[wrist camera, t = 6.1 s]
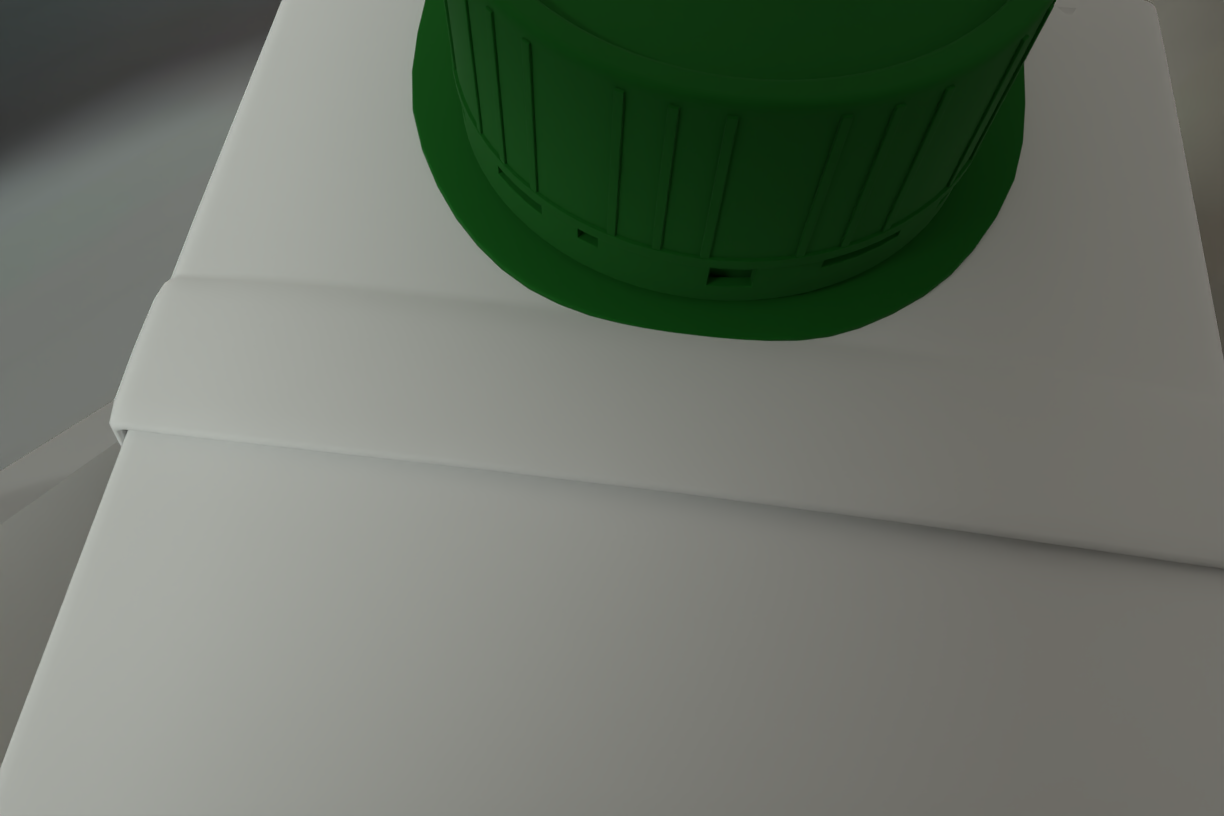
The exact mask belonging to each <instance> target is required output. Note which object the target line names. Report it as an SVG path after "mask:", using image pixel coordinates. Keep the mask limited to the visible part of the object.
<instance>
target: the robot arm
mask: <svg viewBox="0 0 1224 816" xmlns="http://www.w3.org/2000/svg"><path fill="white" fill-rule="evenodd" d="M113 403H114V400H113V401H111V402H110V403H108V404H107V405H105V406H103V407H102V408H100V409H99V410H97V411H95V412H94V413H92V414H91V415H89V416H87V417H86V418H84V419H83V420H81V421H79V422H78V423H76V424H75V425H73V426H71V427H70V428H68V429H67V430H65V431H63V432H62V433H60V434H59V435H57V436H55V437H54V438H52V439H51V440H49V441H47V442H46V443H44V444H43V445H41V446H39V447H38V448H36V449H35V450H33V451H31V452H30V453H28V454H27V455H25V456H23V457H22V458H20V459H19V460H17V461H15V462H14V463H12V464H11V465H9V466H7V467H6V468H4V469H3V470H1V471H0V768H1V765H2V762H3V760H4V757H5V754H6V752H7V749H8V746H9V744H10V741H11V738H12V736H13V733H14V730H15V728H16V725H17V722H18V720H19V717H20V714H21V712H22V709H23V706H24V704H25V701H26V699H27V696H28V693H29V691H30V688H31V685H32V683H33V680H34V677H35V675H36V672H37V669H38V667H39V664H40V662H41V659H42V656H43V654H44V651H45V648H46V646H47V643H48V640H49V638H50V635H51V632H52V630H53V627H54V624H55V622H56V619H57V617H58V614H59V611H60V609H61V606H62V603H63V601H64V598H65V595H66V593H67V590H68V587H69V585H70V582H71V579H72V577H73V574H74V571H75V569H76V566H77V564H78V561H79V558H80V556H81V553H82V550H83V548H84V545H85V542H86V540H87V537H88V534H89V532H90V529H91V526H92V524H93V521H94V518H95V516H96V513H97V511H98V508H99V505H100V503H101V500H102V497H103V495H104V492H105V489H106V487H107V484H108V481H109V479H110V476H111V474H112V471H113V468H114V466H115V463H116V460H117V458H118V455H119V452H120V450H121V446H120V444H119V442H118V440H117V438H116V436H115V434H114V432H113V430H112V428H111V426H110V424H109V421H110V417H111V412H112V408H113Z"/></svg>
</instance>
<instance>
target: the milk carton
mask: <svg viewBox="0 0 1224 816" xmlns="http://www.w3.org/2000/svg"><path fill="white" fill-rule="evenodd" d="M109 424H110V426H111V428H112V430H113V432H114V434H115V436H116V438H117V440H118V442H119V444H120V446H121V450H120V452H119V455H118V458H117V460H116V463H115V466H114V468H113V471H112V474H111V476H110V479H109V481H108V484H107V487H106V489H105V492H104V495H103V497H102V500H101V503H100V505H99V508H98V511H97V513H96V516H95V518H94V521H93V524H92V526H91V529H90V532H89V534H88V537H87V540H86V542H85V545H84V548H83V550H82V553H81V556H80V558H79V561H78V564H77V566H76V569H75V571H74V574H73V577H72V579H71V582H70V585H69V587H68V590H67V593H66V595H65V598H64V601H63V603H62V606H61V609H60V611H59V614H58V617H57V619H56V622H55V624H54V627H53V630H52V632H51V635H50V638H49V640H48V643H47V646H46V648H45V651H44V654H43V656H42V659H41V662H40V664H39V667H38V669H37V672H36V675H35V677H34V680H33V683H32V685H31V688H30V691H29V693H28V696H27V699H26V701H25V704H24V706H23V709H22V712H21V714H20V717H19V720H18V722H17V725H16V728H15V730H14V733H13V736H12V738H11V741H10V744H9V746H8V749H7V752H6V754H5V757H4V760H3V762H2V765H1V768H0V816H1224V358H1223V353H1222V347H1221V341H1220V336H1219V331H1218V325H1217V320H1216V315H1215V310H1214V304H1213V299H1212V294H1211V289H1210V283H1209V278H1208V273H1207V267H1206V262H1205V257H1204V252H1203V246H1202V241H1201V236H1200V231H1199V225H1198V220H1197V215H1196V210H1195V204H1194V199H1193V194H1192V188H1191V183H1190V178H1189V173H1188V167H1187V162H1186V157H1185V152H1184V147H1183V141H1182V136H1181V131H1180V126H1179V120H1178V115H1177V110H1176V105H1175V99H1174V94H1173V89H1172V84H1171V79H1170V73H1169V68H1168V63H1167V58H1166V52H1165V48H1164V43H1163V38H1162V33H1161V29H1160V24H1159V19H1158V15H1157V10H1156V7H1155V6H1154V5H1153V4H1152V3H1150V2H1148V1H1146V0H282V1H281V4H280V6H279V9H278V11H277V14H276V16H275V19H274V21H273V24H272V26H271V29H270V31H269V34H268V36H267V39H266V41H265V44H264V46H263V48H262V51H261V53H260V56H259V58H258V61H257V63H256V66H255V68H254V71H253V73H252V76H251V78H250V81H249V83H248V86H247V88H246V91H245V93H244V96H243V98H242V101H241V103H240V106H239V108H238V111H237V113H236V116H235V118H234V121H233V123H232V126H231V128H230V131H229V133H228V135H227V138H226V140H225V143H224V145H223V148H222V150H221V153H220V155H219V158H218V160H217V163H216V165H215V168H214V170H213V173H212V175H211V178H210V180H209V183H208V185H207V188H206V190H205V193H204V195H203V198H202V200H201V203H200V205H199V207H198V210H197V212H196V215H195V217H194V220H193V222H192V225H191V228H190V230H189V233H188V235H187V238H186V241H185V243H184V246H183V248H182V251H181V253H180V256H179V259H178V261H177V264H176V266H175V269H174V272H173V274H172V277H171V279H170V280H169V281H167V282H165V283H164V285H163V286H162V288H161V289H160V291H159V292H158V294H157V296H156V297H155V299H154V301H153V303H152V305H151V308H150V310H149V312H148V315H147V317H146V320H145V322H144V324H143V327H142V329H141V331H140V334H139V336H138V339H137V341H136V343H135V346H134V348H133V351H132V354H131V356H130V359H129V362H128V364H127V367H126V370H125V372H124V375H123V378H122V381H121V383H120V386H119V389H118V391H117V394H116V397H115V399H114V403H113V408H112V412H111V417H110V421H109Z"/></svg>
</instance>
